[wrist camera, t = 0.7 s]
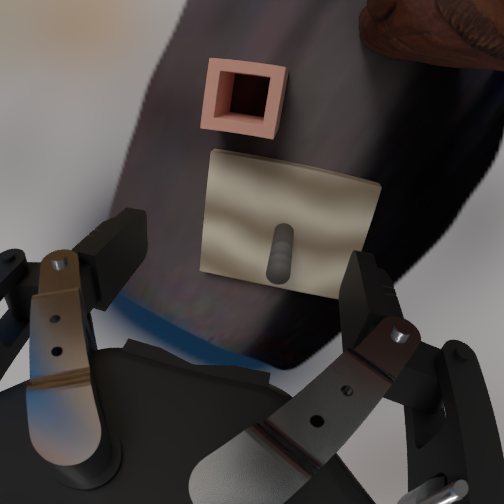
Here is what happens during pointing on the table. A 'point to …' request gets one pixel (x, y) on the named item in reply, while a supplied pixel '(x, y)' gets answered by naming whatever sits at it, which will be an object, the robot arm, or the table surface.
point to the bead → (221, 93)
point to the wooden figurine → (436, 31)
